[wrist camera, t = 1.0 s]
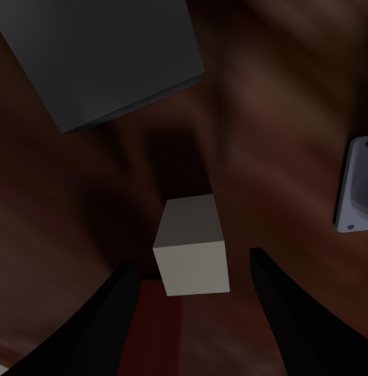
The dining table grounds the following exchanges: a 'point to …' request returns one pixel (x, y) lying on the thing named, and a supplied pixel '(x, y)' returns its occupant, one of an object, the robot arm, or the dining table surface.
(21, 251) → the dining table surface
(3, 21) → the plate
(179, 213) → the cream block
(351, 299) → the dining table surface
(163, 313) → the beer can
